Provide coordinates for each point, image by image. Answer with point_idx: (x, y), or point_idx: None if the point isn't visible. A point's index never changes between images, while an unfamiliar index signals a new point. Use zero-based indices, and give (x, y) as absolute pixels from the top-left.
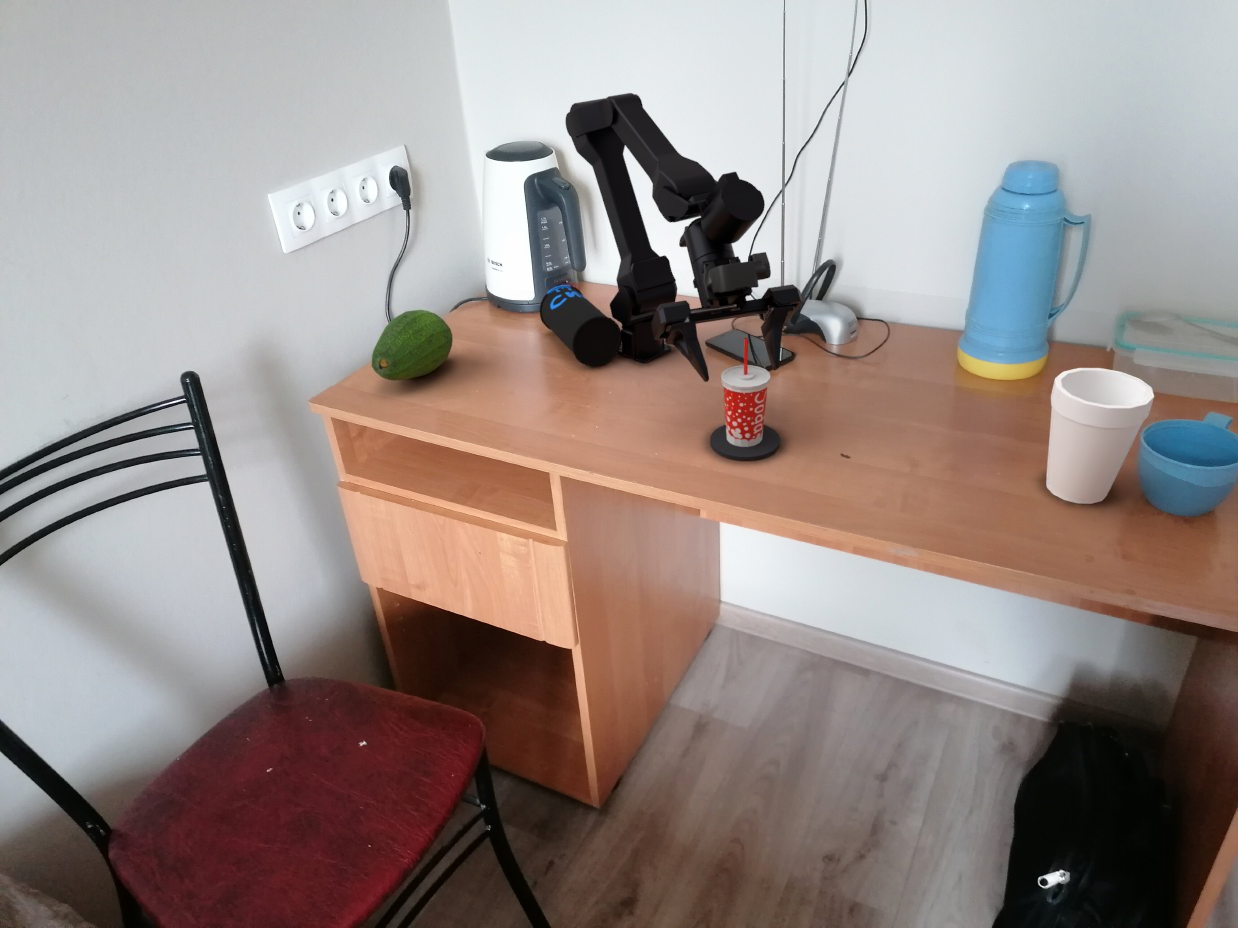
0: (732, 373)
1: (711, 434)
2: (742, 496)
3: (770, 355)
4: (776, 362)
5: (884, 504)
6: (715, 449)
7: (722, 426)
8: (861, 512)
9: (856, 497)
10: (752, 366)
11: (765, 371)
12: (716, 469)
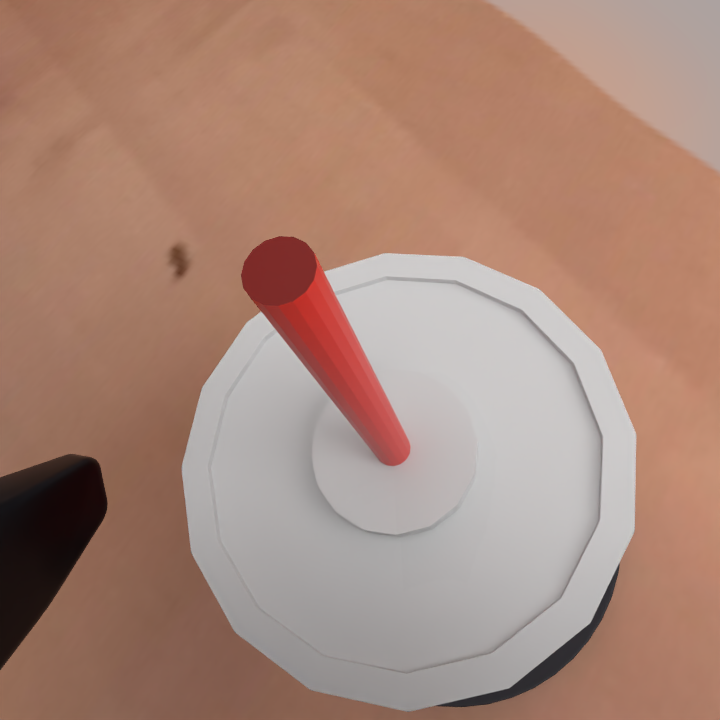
0: (473, 575)
1: (580, 648)
2: (644, 182)
3: (3, 602)
4: (55, 469)
5: (266, 27)
6: None
7: (487, 693)
8: (343, 15)
9: (307, 71)
10: (234, 591)
11: (205, 439)
12: (668, 381)
